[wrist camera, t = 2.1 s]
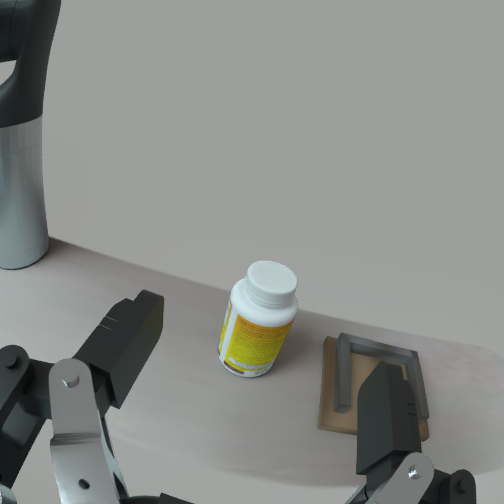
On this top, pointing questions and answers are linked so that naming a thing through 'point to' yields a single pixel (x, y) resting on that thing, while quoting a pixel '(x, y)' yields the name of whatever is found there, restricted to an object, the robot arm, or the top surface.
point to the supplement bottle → (258, 318)
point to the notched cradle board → (362, 380)
